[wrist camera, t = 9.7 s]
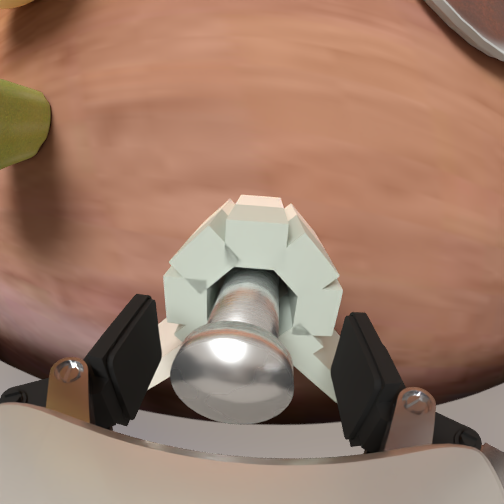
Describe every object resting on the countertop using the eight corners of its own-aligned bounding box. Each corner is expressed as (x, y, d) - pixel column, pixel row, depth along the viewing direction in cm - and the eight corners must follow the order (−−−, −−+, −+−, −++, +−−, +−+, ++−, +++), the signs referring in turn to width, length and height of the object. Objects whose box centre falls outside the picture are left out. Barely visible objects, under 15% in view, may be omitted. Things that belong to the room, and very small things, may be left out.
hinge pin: (289, 230, 18) (304, 347, 7) (283, 283, 20) (284, 428, 8) (231, 225, 19) (163, 331, 7) (229, 278, 20) (176, 414, 9)
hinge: (422, 215, 18) (481, 246, 11) (371, 381, 23) (391, 438, 16) (99, 190, 18) (35, 211, 12) (123, 360, 23) (92, 412, 17)
